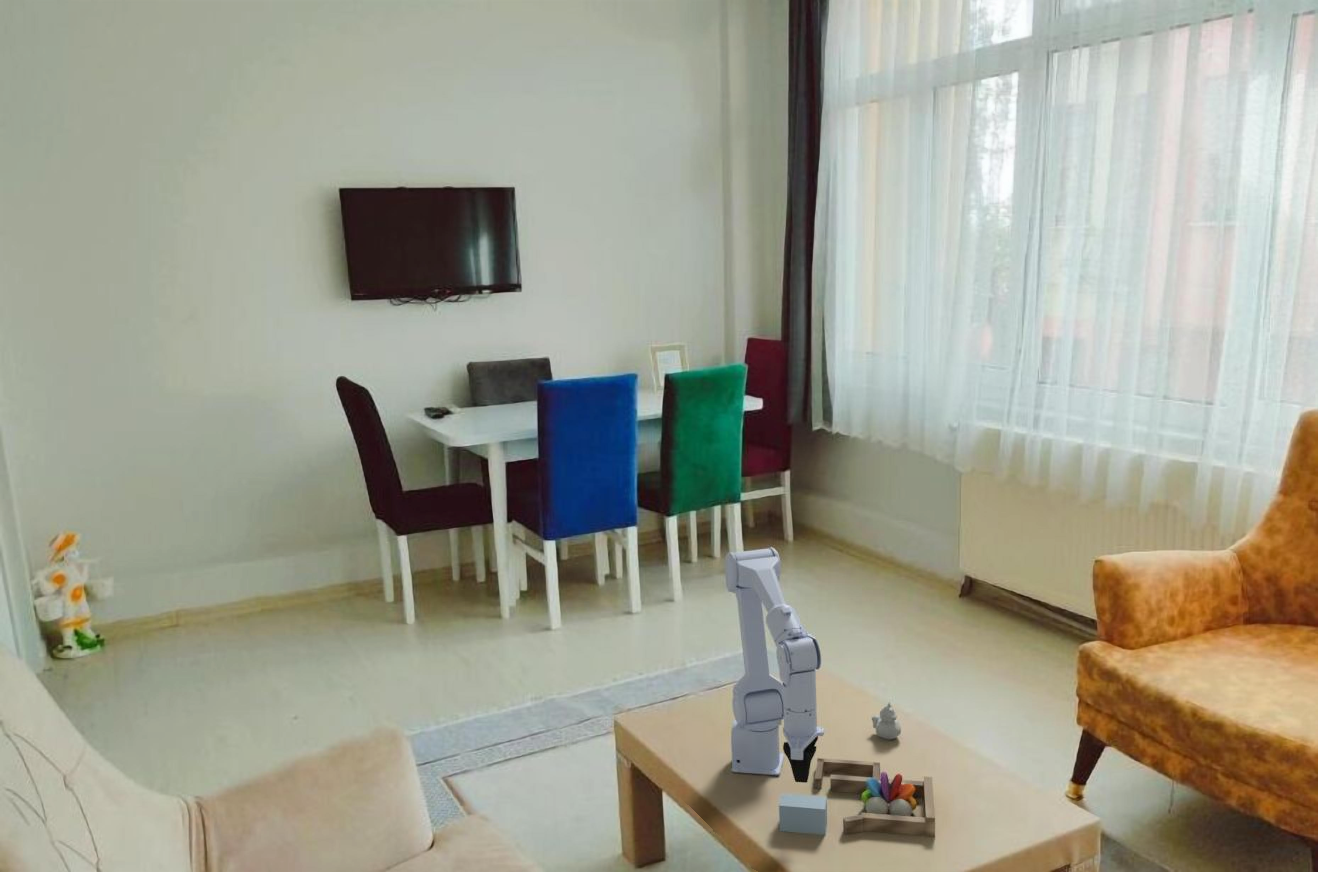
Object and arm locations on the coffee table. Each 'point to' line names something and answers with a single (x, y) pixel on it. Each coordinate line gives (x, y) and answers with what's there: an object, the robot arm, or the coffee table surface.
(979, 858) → the coffee table surface
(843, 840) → the coffee table surface
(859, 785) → the frame
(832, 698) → the coffee table surface
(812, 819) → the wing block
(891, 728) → the grey figurine
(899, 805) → the rainbow fan toy
